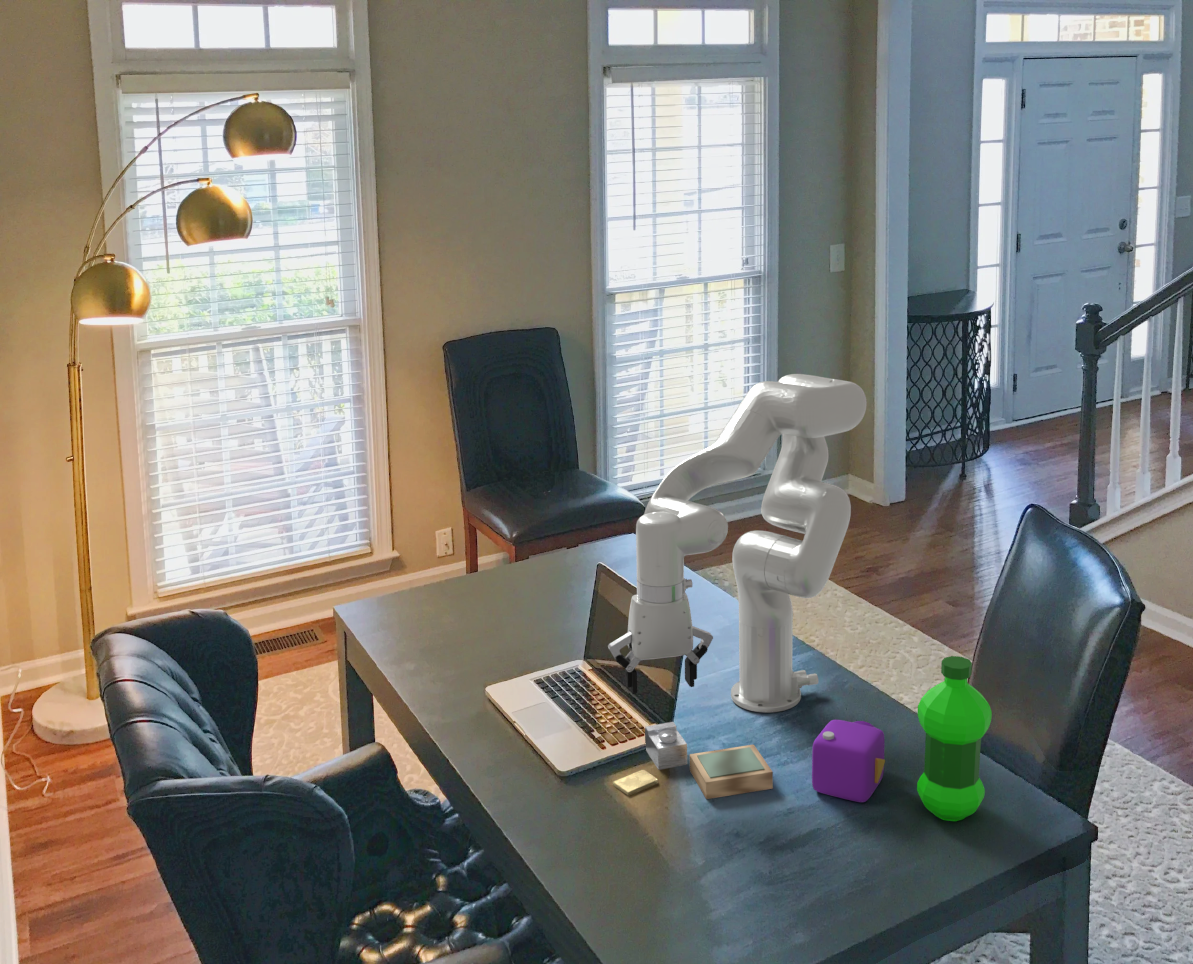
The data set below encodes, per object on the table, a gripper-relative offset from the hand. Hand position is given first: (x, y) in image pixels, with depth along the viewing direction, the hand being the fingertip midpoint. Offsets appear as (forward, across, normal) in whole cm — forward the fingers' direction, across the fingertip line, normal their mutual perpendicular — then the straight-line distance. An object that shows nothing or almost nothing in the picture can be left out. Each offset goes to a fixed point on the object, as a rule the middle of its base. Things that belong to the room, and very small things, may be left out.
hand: (661, 687), depth 209 cm
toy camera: (+13, -27, +15) cm, 34 cm away
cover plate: (+14, +6, +6) cm, 16 cm away
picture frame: (+13, -9, +9) cm, 18 cm away
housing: (+13, -1, 0) cm, 13 cm away
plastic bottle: (+13, -38, +28) cm, 49 cm away
